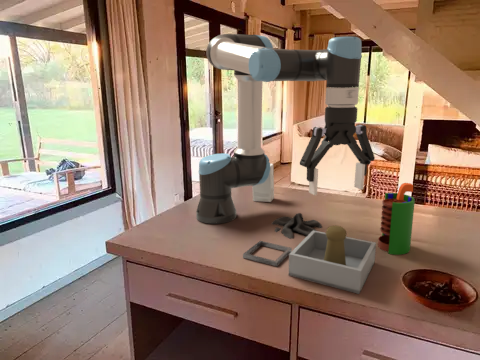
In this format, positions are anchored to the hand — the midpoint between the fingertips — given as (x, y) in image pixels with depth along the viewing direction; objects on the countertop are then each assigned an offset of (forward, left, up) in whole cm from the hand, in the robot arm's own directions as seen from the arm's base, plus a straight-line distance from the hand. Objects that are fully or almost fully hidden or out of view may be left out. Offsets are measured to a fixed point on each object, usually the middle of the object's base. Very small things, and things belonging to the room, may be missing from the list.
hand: (336, 190), depth 93 cm
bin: (0, 0, -22) cm, 22 cm away
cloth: (-19, +21, -23) cm, 36 cm away
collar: (-19, -1, -22) cm, 29 cm away
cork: (+1, 0, -21) cm, 21 cm away
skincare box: (-44, +45, -22) cm, 66 cm away
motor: (+12, +22, -22) cm, 33 cm away
